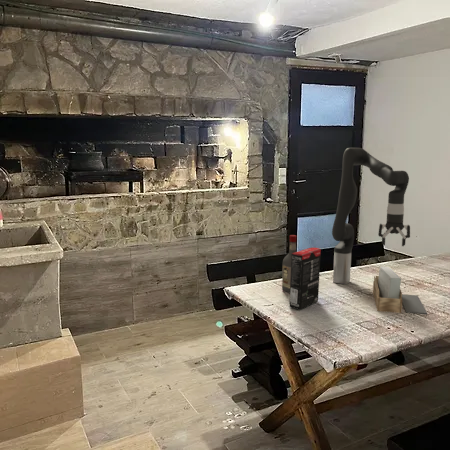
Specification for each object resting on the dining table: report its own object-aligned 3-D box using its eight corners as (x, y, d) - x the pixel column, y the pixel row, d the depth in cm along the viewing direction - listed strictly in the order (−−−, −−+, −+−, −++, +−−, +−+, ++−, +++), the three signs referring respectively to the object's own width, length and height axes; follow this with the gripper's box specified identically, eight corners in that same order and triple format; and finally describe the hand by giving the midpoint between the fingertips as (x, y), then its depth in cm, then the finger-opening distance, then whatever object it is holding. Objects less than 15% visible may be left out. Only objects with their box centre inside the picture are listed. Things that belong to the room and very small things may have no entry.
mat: (406, 312, 209) (406, 311, 209) (398, 295, 233) (398, 294, 233) (427, 314, 207) (427, 313, 207) (417, 296, 231) (417, 295, 231)
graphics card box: (307, 298, 229) (309, 246, 224) (319, 301, 225) (321, 248, 220) (288, 307, 217) (289, 252, 212) (301, 311, 212) (302, 254, 207)
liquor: (292, 286, 248) (293, 233, 242) (304, 291, 240) (305, 236, 235) (279, 289, 243) (280, 235, 238) (291, 294, 235) (292, 238, 230)
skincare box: (399, 310, 212) (401, 278, 210) (387, 310, 213) (389, 277, 210) (387, 295, 233) (389, 265, 230) (376, 295, 234) (378, 265, 231)
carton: (377, 311, 211) (378, 291, 210) (372, 292, 237) (373, 275, 235) (401, 313, 209) (402, 293, 207) (394, 294, 235) (395, 276, 233)
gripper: (380, 213, 215) (378, 246, 218) (412, 214, 211) (410, 248, 214) (379, 211, 222) (377, 243, 225) (410, 211, 218) (408, 244, 221)
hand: (393, 245), depth 220 cm, fingers open, 8 cm apart
